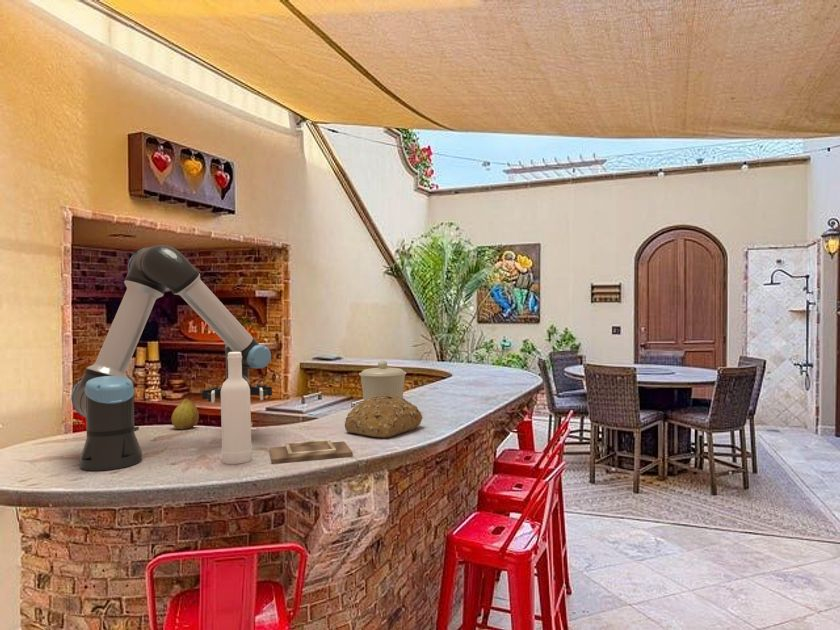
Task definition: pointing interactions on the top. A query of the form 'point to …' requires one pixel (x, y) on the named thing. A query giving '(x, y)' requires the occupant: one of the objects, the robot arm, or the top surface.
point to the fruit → (185, 415)
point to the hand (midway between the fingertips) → (237, 396)
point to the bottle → (235, 414)
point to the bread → (383, 417)
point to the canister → (382, 381)
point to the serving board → (309, 451)
